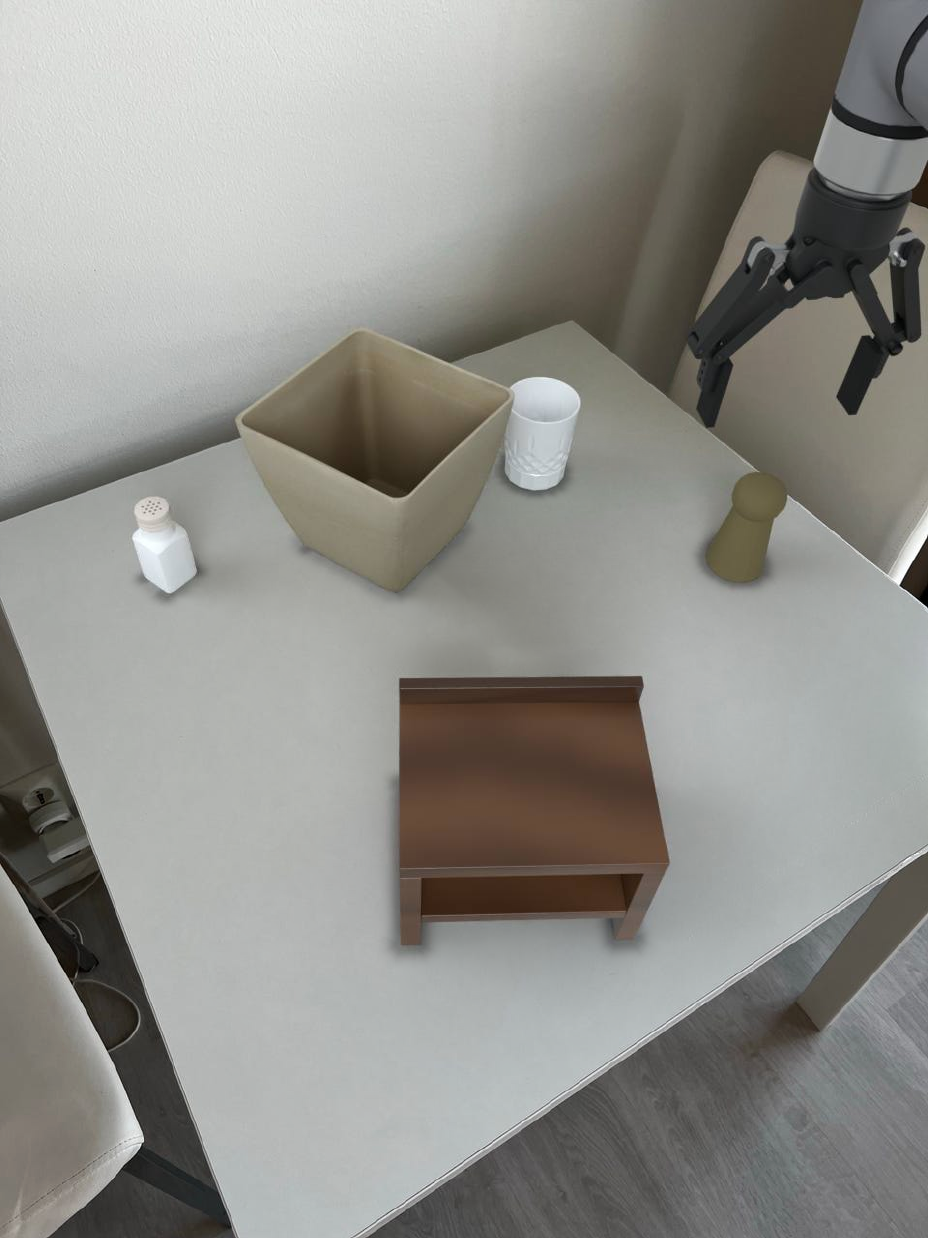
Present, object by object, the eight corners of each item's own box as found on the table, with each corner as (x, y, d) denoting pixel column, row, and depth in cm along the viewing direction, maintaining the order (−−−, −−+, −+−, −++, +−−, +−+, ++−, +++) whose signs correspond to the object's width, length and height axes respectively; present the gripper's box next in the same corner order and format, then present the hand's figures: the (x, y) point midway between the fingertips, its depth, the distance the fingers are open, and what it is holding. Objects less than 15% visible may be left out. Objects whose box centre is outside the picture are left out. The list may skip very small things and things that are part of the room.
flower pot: (253, 548, 98) (228, 418, 85) (365, 451, 108) (358, 321, 95) (402, 632, 92) (400, 505, 79) (506, 520, 102) (519, 391, 89)
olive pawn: (706, 536, 102) (733, 457, 93) (763, 546, 101) (795, 468, 93) (704, 576, 98) (732, 498, 90) (763, 587, 97) (796, 509, 89)
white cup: (582, 471, 108) (595, 400, 100) (537, 505, 104) (547, 433, 96) (530, 439, 111) (539, 367, 103) (484, 470, 107) (490, 398, 99)
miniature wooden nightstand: (633, 940, 73) (676, 850, 61) (400, 946, 72) (398, 855, 60) (608, 781, 82) (642, 675, 70) (401, 784, 81) (399, 677, 69)
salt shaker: (170, 597, 93) (149, 529, 86) (142, 578, 95) (120, 509, 87) (200, 574, 95) (182, 505, 88) (173, 556, 97) (153, 486, 89)
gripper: (989, 146, 73) (884, 376, 90) (683, 160, 70) (631, 396, 86) (1044, 193, 69) (922, 426, 85) (719, 210, 65) (657, 450, 81)
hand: (776, 412), depth 85 cm, fingers open, 13 cm apart
